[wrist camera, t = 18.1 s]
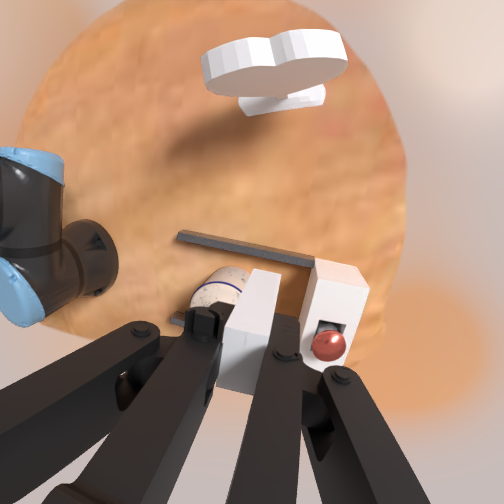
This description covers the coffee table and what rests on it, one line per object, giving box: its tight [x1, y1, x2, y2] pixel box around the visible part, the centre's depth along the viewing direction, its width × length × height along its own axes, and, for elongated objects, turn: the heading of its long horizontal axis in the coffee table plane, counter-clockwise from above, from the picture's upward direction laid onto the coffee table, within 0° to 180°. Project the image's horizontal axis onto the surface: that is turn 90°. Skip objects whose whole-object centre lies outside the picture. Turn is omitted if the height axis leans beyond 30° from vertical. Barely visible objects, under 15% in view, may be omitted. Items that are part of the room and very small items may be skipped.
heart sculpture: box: [201, 29, 348, 117], centre depth 32 cm, size 16×5×18 cm, turn 100°
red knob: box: [312, 320, 346, 362], centre depth 39 cm, size 4×4×7 cm
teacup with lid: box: [190, 266, 251, 308], centre depth 43 cm, size 12×9×12 cm
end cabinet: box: [298, 258, 370, 372], centre depth 43 cm, size 7×16×10 cm, turn 170°
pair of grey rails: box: [170, 230, 315, 327], centre depth 48 cm, size 22×16×2 cm
